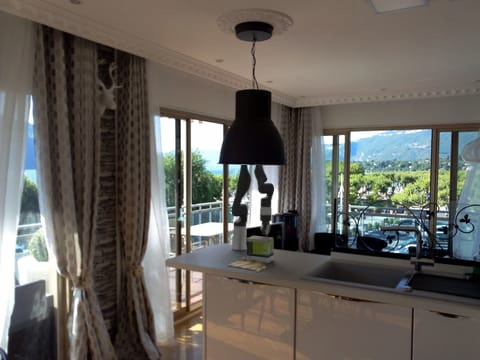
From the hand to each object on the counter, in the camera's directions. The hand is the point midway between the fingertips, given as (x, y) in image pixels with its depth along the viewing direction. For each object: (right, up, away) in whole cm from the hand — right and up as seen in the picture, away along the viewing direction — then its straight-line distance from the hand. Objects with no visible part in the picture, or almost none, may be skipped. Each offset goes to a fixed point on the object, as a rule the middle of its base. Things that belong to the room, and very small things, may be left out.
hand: (265, 239), depth 262 cm
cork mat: (-12, -13, -19) cm, 26 cm away
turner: (-3, -13, -26) cm, 29 cm away
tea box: (-4, -13, -5) cm, 14 cm away
